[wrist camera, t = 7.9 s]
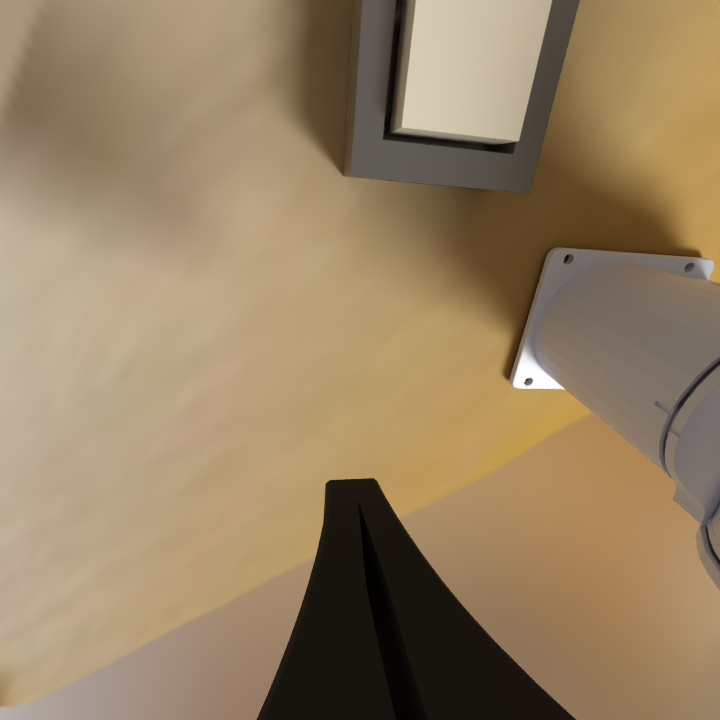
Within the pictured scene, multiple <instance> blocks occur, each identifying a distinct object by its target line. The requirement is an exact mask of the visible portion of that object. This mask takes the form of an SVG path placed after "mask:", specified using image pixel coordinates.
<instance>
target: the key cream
mask: <svg viewBox="0 0 720 720" xmlns="http://www.w3.org/2000/svg"><path fill="white" fill-rule="evenodd" d="M551 4H552V0H403V6H402V16H401V26H400V35H399V45H398V55H397V65H396V75H395V84H394V94H393V104H392V114H391V124H390V133H389V134H395V135H404V136H413V137H421V138H430V139H439V140H448V141H457V142H465V143H474V144H483V145H492V146H493V145H499V144H505V143H511V142H517V141H519V139H520V135H521V130H522V126H523V122H524V118H525V113H526V109H527V105H528V101H529V97H530V92H531V88H532V84H533V80H534V75H535V71H536V67H537V63H538V58H539V54H540V50H541V46H542V42H543V37H544V33H545V29H546V25H547V20H548V16H549V12H550V8H551Z"/></svg>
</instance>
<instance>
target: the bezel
mask: <svg viewBox="0 0 720 720" xmlns="http://www.w3.org/2000/svg"><path fill="white" fill-rule="evenodd" d="M579 1H580V0H552V4H551V8H550V12H549V16H548V20H547V25H546V29H545V33H544V37H543V42H542V46H541V50H540V54H539V58H538V63H537V67H536V71H535V75H534V80H533V84H532V88H531V92H530V97H529V101H528V105H527V109H526V113H525V118H524V122H523V126H522V130H521V135H520V139H519V141H517V142H511V143H505V144H499V145H493V146H492V145H487V150H486V151H479V150H470V149H461V148H452V147H443V146H434V145H425V144H416V143H407V142H398V141H389V140H383V131H384V120H385V110H386V100H387V89H388V79H389V68H390V58H391V47H392V37H393V27H394V16H395V6H396V0H356V4H355V20H354V37H353V54H352V71H351V88H350V104H349V121H348V138H347V155H346V172H345V176H349V177H359V178H370V179H380V180H391V181H402V182H412V183H423V184H433V185H444V186H454V187H465V188H475V189H486V190H496V191H508V192H521V193H529V192H530V188H531V184H532V180H533V177H534V173H535V169H536V165H537V161H538V158H539V154H540V150H541V146H542V142H543V138H544V135H545V131H546V127H547V123H548V119H549V115H550V112H551V108H552V104H553V100H554V96H555V92H556V89H557V85H558V81H559V77H560V73H561V69H562V66H563V62H564V58H565V54H566V50H567V47H568V43H569V39H570V35H571V31H572V27H573V24H574V20H575V16H576V12H577V8H578V4H579Z"/></svg>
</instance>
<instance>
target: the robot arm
mask: <svg viewBox="0 0 720 720" xmlns="http://www.w3.org/2000/svg"><path fill="white" fill-rule="evenodd" d="M567 255H569V258H568V260H567V261H566V262H565V263H564V258H565V256H567ZM686 265H687V267H686ZM685 267H686V268H685ZM713 268H714V262H713V260H711V259H707V258H700V257H686V256H672V255H659V254H645V253H631V252H618V251H604V250H590V249H576V248H563V247H557V248H554V249H552V250H551V251H550V252H549V253H548V254H547V257H546V260H545V263H544V266H543V270H542V273H541V276H540V280H539V283H538V286H537V290H536V293H535V296H534V300H533V303H532V306H531V310H530V313H529V316H528V320H527V323H526V326H525V329H524V333H523V336H522V339H521V343H520V346H519V349H518V353H517V356H516V359H515V363H514V366H513V369H512V373H511V376H510V384H511V385H512V386H513V387H514V388H518V389H565V390H566V391H568V392H569V393H570V394H571V395H572V396H574V397H575V398H576V399H577V400H578V401H580V402H581V403H582V404H583V405H584V406H586V407H587V408H588V409H589V410H590V411H592V412H593V413H594V414H595V415H596V416H598V417H599V418H600V419H601V420H602V421H604V422H605V423H606V424H607V425H608V426H609V427H611V428H612V429H613V430H614V431H616V432H617V433H618V434H619V435H620V436H621V437H623V438H624V439H625V440H626V441H627V442H629V443H630V444H631V445H632V446H633V447H635V448H636V449H637V450H638V451H639V452H641V453H642V454H643V455H644V456H645V457H647V458H648V459H649V460H650V461H651V462H653V463H654V464H655V465H656V466H657V467H659V468H660V469H661V470H662V471H663V472H665V473H666V474H667V475H668V476H669V477H671V478H672V479H673V480H674V482H675V486H676V490H675V494H674V496H673V500H674V501H675V502H676V503H677V504H679V505H680V506H681V507H682V508H683V509H684V510H685V511H687V512H688V513H689V514H690V515H691V516H692V517H693V518H694V519H696V520H697V521H698V522H699V523H700V525H699V526H698V530H697V534H696V544H697V550H698V553H699V557H700V560H701V562H702V564H703V566H704V567H705V569H706V571H707V573H708V575H709V576H710V578H711V579H712V580H713V582H714V583H715V585H716V586H717V588H718V589H719V590H720V283H718V282H715V281H711V280H708V278H709V276H710V274H711V272H712V270H713ZM527 378H529V380H528V381H526V382H524V381H525V380H526V379H527ZM257 720H576V719H575V718H574V717H573V716H571V715H570V714H569V713H568V712H567V711H566V710H565V709H564V708H563V707H562V706H561V705H560V704H558V703H557V702H556V701H555V700H554V699H553V698H552V697H551V696H550V695H549V694H548V693H547V692H546V691H544V690H543V689H542V688H541V687H540V686H539V685H538V684H537V683H536V682H535V681H534V680H533V679H532V678H531V677H530V676H529V675H528V674H527V673H526V672H525V671H524V670H523V669H522V668H521V667H520V666H519V665H518V664H517V663H516V662H515V661H514V660H513V659H512V658H511V657H510V656H509V655H508V654H507V653H506V652H505V651H504V650H503V649H502V648H501V647H500V646H499V645H498V644H497V643H496V642H495V641H494V640H493V639H492V638H491V637H490V636H489V634H488V633H487V632H486V631H485V630H484V629H483V628H482V627H481V626H480V625H479V623H478V622H477V621H476V620H475V619H474V618H473V617H472V616H471V615H470V613H469V612H468V611H467V610H466V609H465V608H464V607H463V605H462V604H461V603H460V602H459V601H458V600H457V598H456V597H455V596H454V595H453V594H452V592H451V591H450V590H449V588H448V587H447V586H446V585H445V584H444V582H443V581H442V580H441V578H440V577H439V576H438V574H437V573H436V572H435V570H434V569H433V568H432V567H431V565H430V564H429V563H428V561H427V560H426V559H425V557H424V556H423V554H422V553H421V552H420V550H419V549H418V547H417V546H416V544H415V543H414V541H413V540H412V538H411V537H410V535H409V534H408V533H407V531H406V530H405V528H404V527H403V525H402V523H401V522H400V520H399V519H398V517H397V516H396V514H395V512H394V511H393V509H392V507H391V506H390V504H389V502H388V501H387V499H386V497H385V495H384V494H383V492H382V490H381V488H380V486H379V484H378V482H377V481H376V480H375V479H374V478H369V479H345V480H330V481H328V482H327V483H326V488H325V506H324V522H323V527H322V532H321V537H320V541H319V546H318V550H317V554H316V558H315V562H314V565H313V569H312V572H311V576H310V580H309V583H308V586H307V590H306V593H305V596H304V599H303V602H302V606H301V608H300V611H299V614H298V617H297V620H296V623H295V626H294V628H293V631H292V634H291V637H290V640H289V642H288V645H287V647H286V650H285V652H284V655H283V658H282V660H281V663H280V665H279V668H278V671H277V673H276V676H275V678H274V680H273V683H272V685H271V688H270V690H269V693H268V695H267V697H266V700H265V702H264V704H263V706H262V709H261V711H260V713H259V716H258V718H257Z"/></svg>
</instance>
